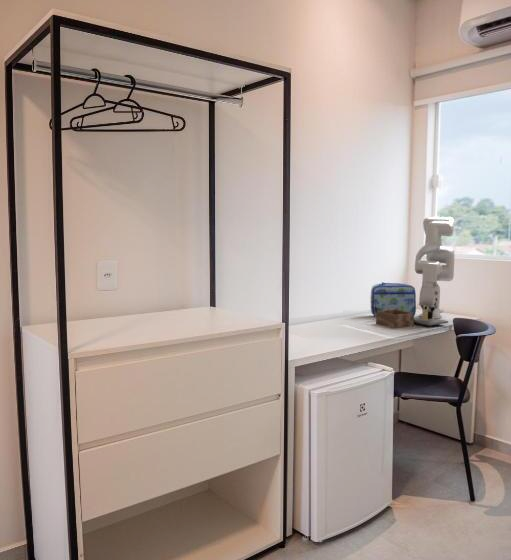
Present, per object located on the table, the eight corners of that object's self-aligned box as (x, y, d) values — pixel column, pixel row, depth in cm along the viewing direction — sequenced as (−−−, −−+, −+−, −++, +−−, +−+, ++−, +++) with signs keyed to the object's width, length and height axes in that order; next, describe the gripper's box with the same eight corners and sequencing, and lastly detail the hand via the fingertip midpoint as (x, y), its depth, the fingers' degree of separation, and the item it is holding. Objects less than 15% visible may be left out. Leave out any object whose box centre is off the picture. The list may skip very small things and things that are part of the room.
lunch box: (370, 318, 310) (372, 283, 308) (368, 315, 321) (370, 281, 318) (416, 319, 308) (417, 284, 305) (412, 316, 318) (414, 282, 316)
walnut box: (394, 323, 297) (394, 309, 296) (413, 327, 285) (414, 313, 284) (376, 325, 290) (376, 311, 289) (395, 330, 278) (395, 315, 277)
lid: (425, 318, 299) (426, 306, 298) (447, 322, 287) (448, 310, 286) (407, 320, 291) (408, 308, 291) (429, 325, 279) (429, 312, 278)
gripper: (446, 286, 282) (444, 320, 284) (422, 283, 296) (420, 315, 298) (436, 287, 278) (435, 321, 280) (413, 283, 292) (411, 316, 294)
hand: (427, 317), depth 289 cm, fingers closed on lid, 2 cm apart
